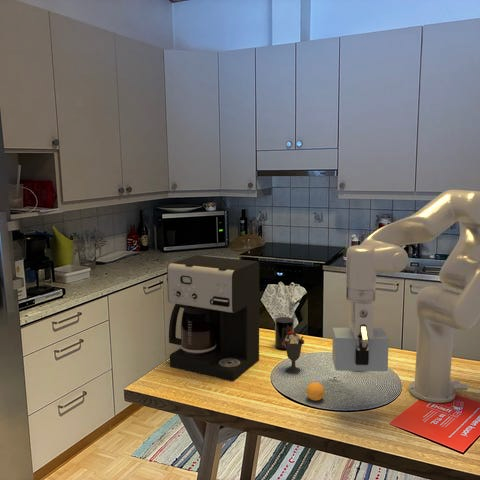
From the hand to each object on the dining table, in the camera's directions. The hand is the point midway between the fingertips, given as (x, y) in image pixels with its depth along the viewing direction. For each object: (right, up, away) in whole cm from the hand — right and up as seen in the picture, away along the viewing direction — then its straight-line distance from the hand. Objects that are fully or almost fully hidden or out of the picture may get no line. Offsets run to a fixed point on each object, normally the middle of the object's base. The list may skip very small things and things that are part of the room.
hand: (359, 357), depth 128 cm
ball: (-10, -12, +9) cm, 18 cm away
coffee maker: (-42, -11, +35) cm, 56 cm away
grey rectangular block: (0, -2, 0) cm, 2 cm away
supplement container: (-15, -8, +49) cm, 52 cm away
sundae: (-14, -11, +29) cm, 34 cm away
